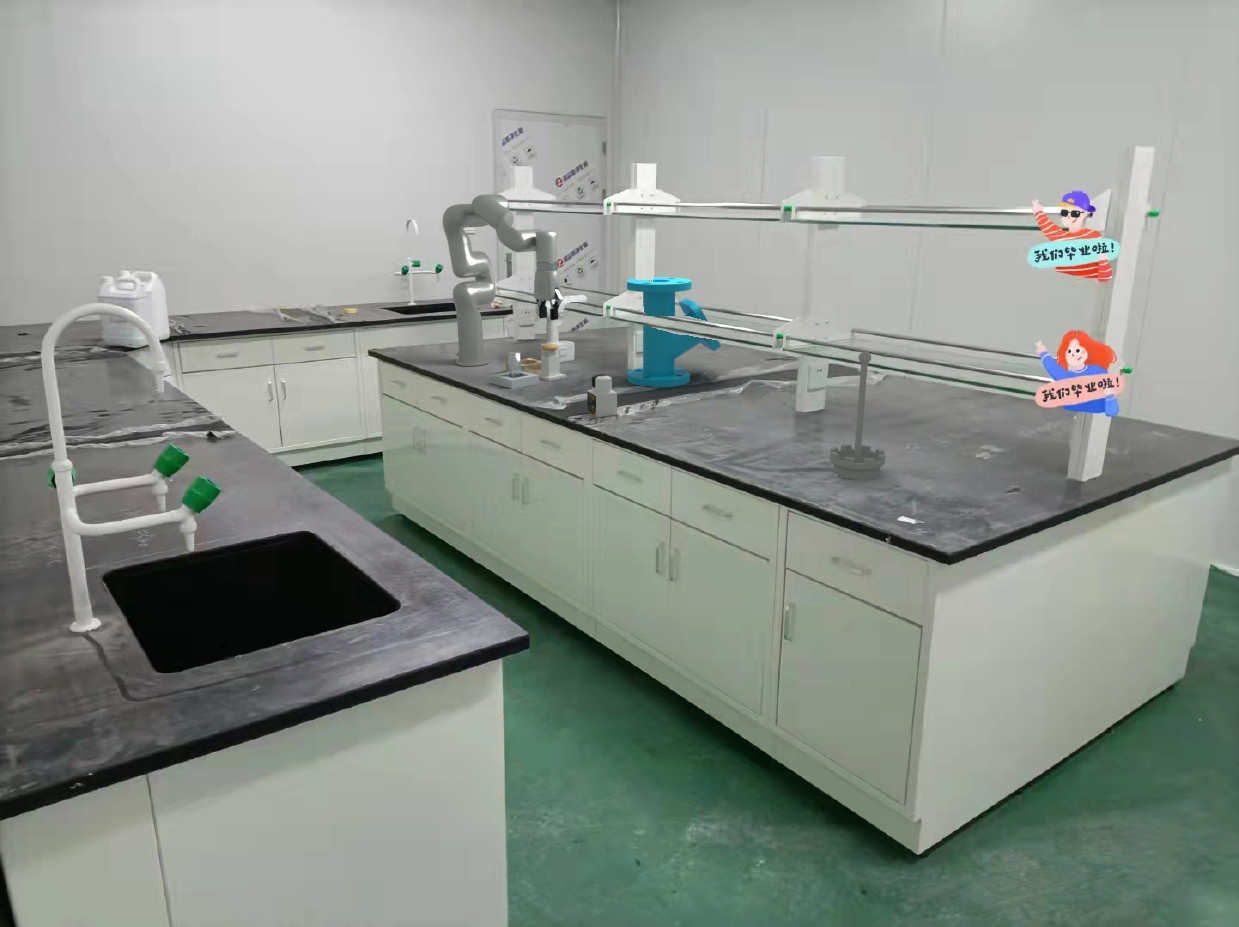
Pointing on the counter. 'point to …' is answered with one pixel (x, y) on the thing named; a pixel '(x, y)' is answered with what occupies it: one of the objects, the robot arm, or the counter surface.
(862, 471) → the flag stand
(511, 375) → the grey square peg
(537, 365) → the rack
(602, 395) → the medicine bottle
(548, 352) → the release plunger
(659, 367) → the pipe fitting
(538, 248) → the robot arm
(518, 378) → the socket block
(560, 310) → the power drill
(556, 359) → the post
